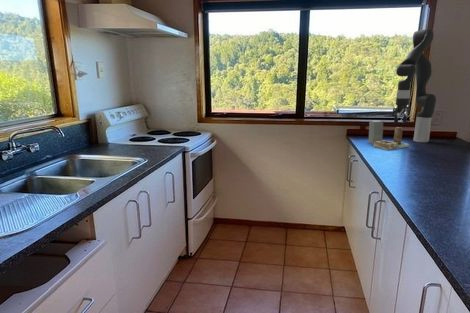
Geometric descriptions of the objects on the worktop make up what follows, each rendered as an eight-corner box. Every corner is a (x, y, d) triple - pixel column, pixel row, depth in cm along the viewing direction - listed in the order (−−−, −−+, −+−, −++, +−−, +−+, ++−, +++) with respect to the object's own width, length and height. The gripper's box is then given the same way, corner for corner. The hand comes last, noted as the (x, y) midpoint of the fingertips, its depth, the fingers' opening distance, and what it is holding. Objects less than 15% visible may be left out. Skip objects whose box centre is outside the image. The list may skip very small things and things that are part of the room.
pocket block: (383, 146, 214) (384, 140, 213) (397, 149, 205) (398, 142, 204) (373, 147, 209) (374, 141, 208) (386, 150, 201) (387, 144, 200)
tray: (394, 144, 219) (394, 141, 218) (408, 147, 210) (408, 144, 210) (384, 146, 214) (385, 142, 214) (398, 149, 206) (398, 145, 205)
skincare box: (382, 145, 217) (385, 121, 213) (371, 145, 217) (374, 121, 213) (377, 142, 225) (379, 119, 221) (366, 142, 225) (369, 119, 221)
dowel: (395, 144, 215) (398, 126, 212) (401, 146, 211) (404, 127, 208) (391, 145, 213) (393, 127, 210) (397, 146, 209) (400, 128, 206)
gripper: (404, 96, 211) (401, 121, 215) (390, 97, 204) (387, 123, 208) (415, 97, 204) (412, 122, 208) (401, 98, 198) (398, 124, 202)
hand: (400, 123), depth 208 cm, fingers open, 8 cm apart
